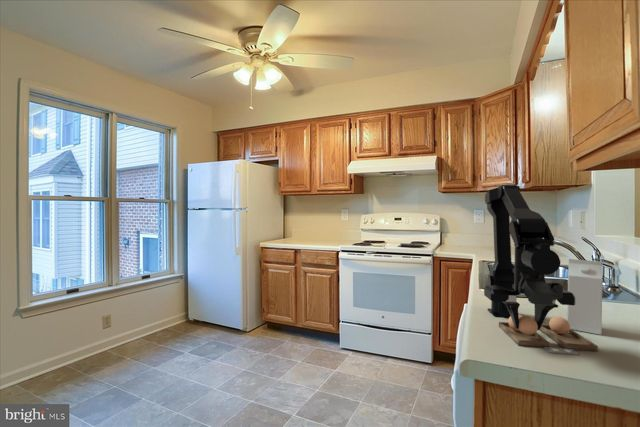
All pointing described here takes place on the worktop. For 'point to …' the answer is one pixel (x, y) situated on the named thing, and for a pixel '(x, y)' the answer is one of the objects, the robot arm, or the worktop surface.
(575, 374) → the worktop surface
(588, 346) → the trough
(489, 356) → the worktop surface
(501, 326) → the trough
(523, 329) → the ball
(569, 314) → the milk carton
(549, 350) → the card
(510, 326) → the ball
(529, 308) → the worktop surface
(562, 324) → the ball
